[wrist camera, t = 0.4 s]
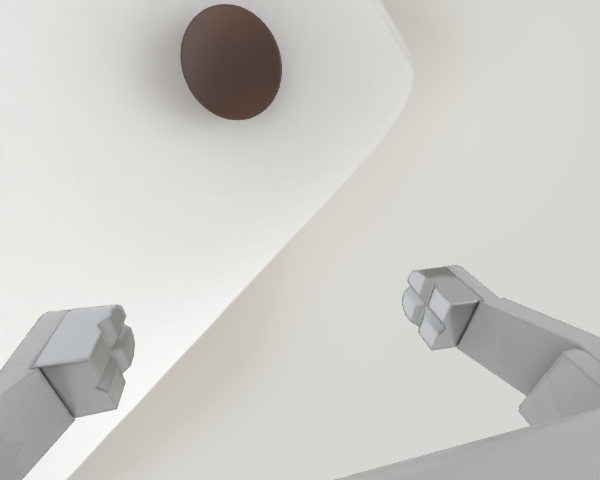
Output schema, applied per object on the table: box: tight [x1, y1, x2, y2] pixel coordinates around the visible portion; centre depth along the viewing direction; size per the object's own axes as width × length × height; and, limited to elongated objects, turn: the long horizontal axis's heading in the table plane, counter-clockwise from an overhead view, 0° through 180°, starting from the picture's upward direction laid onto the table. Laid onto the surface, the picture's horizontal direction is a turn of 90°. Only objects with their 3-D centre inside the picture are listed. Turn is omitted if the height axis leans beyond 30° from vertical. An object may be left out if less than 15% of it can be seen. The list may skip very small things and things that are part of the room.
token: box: [181, 4, 282, 120], centre depth 16 cm, size 5×5×3 cm
